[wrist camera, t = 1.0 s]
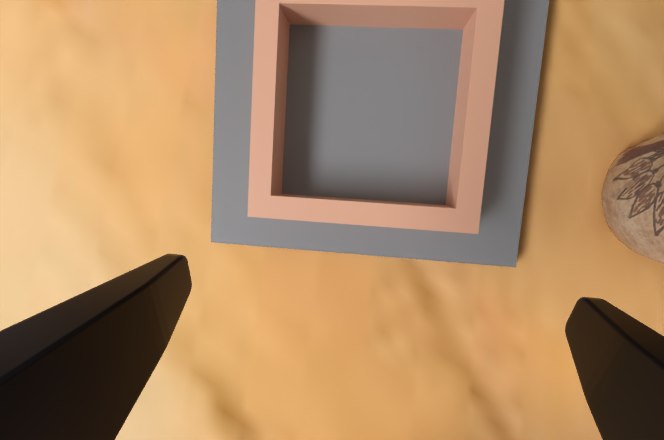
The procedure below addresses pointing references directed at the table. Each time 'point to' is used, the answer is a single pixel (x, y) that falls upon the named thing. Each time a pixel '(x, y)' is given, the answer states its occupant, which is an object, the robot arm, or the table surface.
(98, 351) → the robot arm
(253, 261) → the table surface
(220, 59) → the awning stand
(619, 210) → the figurine
